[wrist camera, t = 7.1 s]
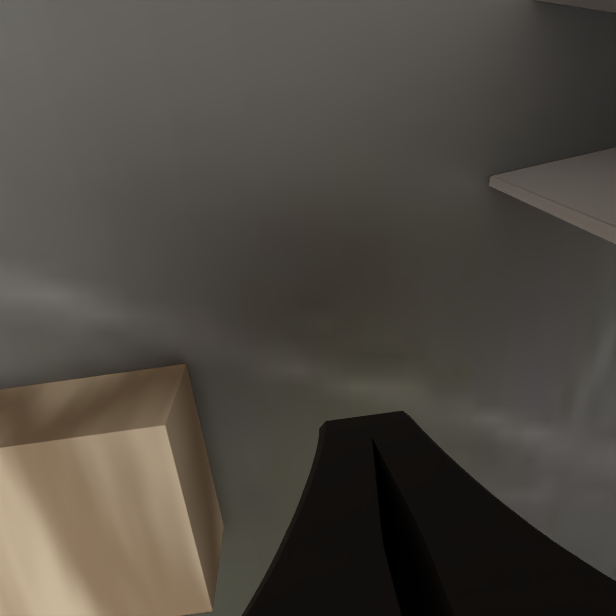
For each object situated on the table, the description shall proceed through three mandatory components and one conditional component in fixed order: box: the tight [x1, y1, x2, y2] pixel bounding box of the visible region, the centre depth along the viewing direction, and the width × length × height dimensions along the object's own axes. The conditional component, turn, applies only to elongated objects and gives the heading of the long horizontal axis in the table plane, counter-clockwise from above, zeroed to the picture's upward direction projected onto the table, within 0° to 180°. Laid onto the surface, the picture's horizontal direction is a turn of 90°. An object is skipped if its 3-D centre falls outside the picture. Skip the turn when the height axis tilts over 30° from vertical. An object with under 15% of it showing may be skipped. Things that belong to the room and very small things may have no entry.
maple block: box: [0, 364, 224, 616], centre depth 19 cm, size 4×7×10 cm
